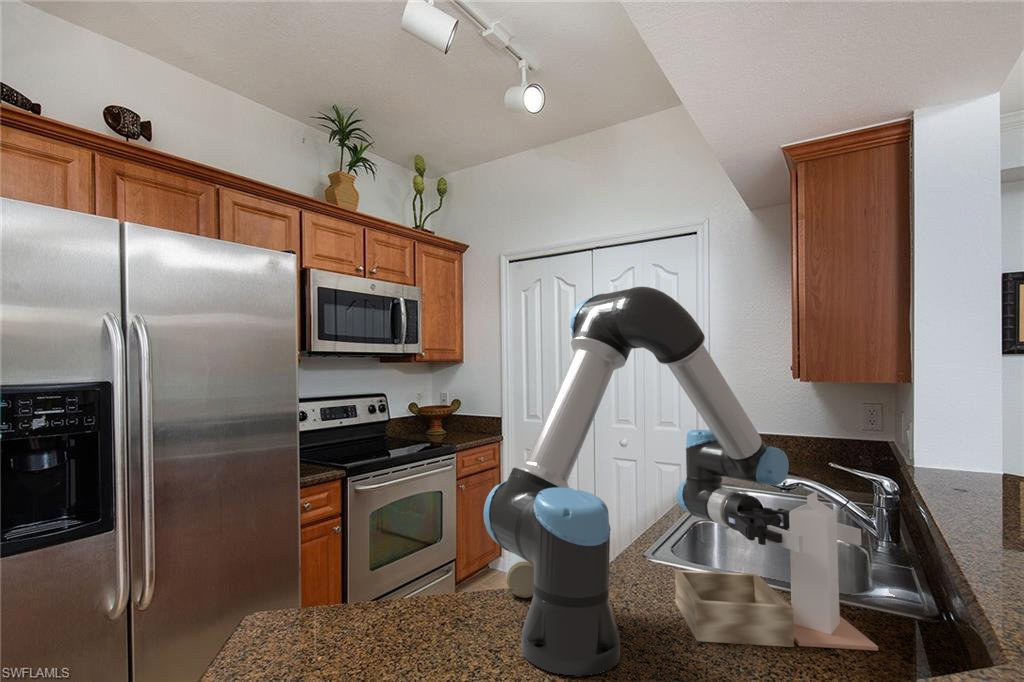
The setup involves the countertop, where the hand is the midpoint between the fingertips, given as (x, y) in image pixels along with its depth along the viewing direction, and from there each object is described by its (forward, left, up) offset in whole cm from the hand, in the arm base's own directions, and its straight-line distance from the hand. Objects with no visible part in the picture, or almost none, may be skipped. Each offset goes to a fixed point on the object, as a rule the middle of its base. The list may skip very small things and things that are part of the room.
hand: (831, 540), depth 88 cm
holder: (-16, +3, -15) cm, 22 cm away
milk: (-1, +3, -15) cm, 15 cm away
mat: (-1, +3, -15) cm, 16 cm away
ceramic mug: (-51, +12, -16) cm, 54 cm away
